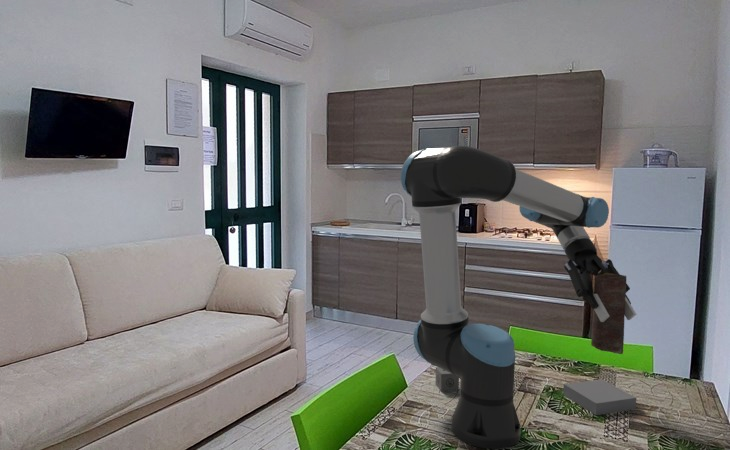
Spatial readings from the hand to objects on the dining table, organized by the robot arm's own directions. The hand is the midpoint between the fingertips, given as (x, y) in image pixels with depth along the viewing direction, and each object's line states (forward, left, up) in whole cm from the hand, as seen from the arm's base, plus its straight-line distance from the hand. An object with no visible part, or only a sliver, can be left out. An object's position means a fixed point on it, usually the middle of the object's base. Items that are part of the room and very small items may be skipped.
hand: (618, 318), depth 120 cm
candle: (0, +3, -10) cm, 10 cm away
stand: (-1, +4, -23) cm, 24 cm away
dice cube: (-35, +23, -24) cm, 48 cm away
